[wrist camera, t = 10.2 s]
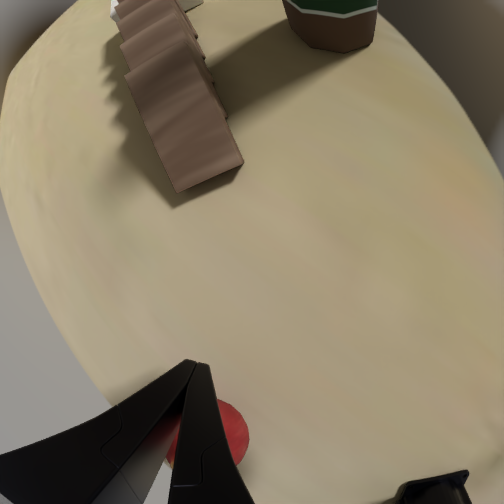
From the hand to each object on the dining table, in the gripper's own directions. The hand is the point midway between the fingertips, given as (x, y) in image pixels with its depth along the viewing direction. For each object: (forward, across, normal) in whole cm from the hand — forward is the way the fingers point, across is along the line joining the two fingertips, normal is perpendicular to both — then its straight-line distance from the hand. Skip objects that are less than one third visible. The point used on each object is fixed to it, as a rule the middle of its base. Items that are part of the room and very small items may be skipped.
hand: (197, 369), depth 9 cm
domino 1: (+13, -3, +4) cm, 14 cm away
